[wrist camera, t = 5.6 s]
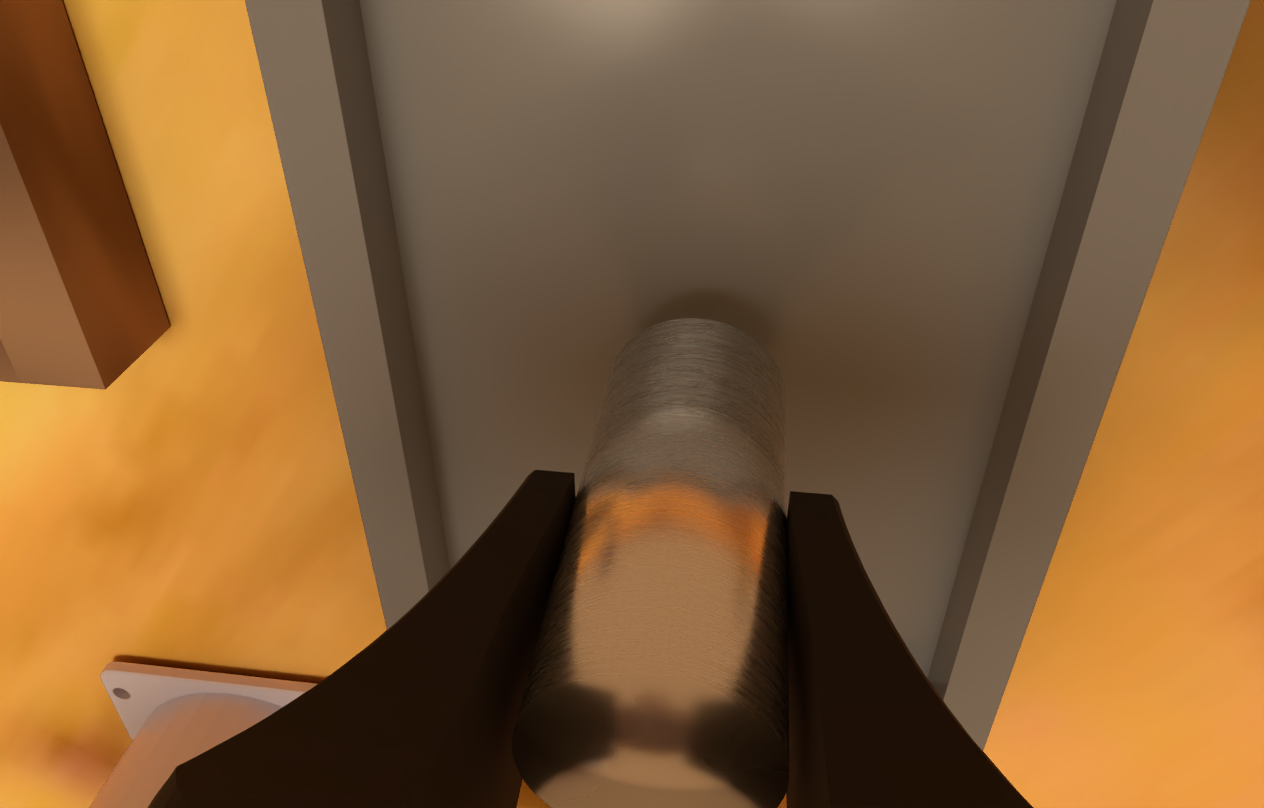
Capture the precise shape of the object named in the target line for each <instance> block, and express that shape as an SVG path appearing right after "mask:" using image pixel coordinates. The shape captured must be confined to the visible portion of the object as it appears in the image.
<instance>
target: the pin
mask: <svg viewBox="0 0 1264 808" xmlns="http://www.w3.org/2000/svg"><path fill="white" fill-rule="evenodd" d="M512 754H513V759H514V762H515V765H516V767H517V769H518V771H519V773H520V775H521V777H522V778H523V780H524V781H525V782H526V784H527V785H528V786H529V788H530V789H531V790H532V791H533V792H534V793H535V794H536V795H537V796H538V797H539V798H540V799H541V800H543V801H544V802H545V803H546V804H548V805H549V806H550V807H552V808H777V807H778V806H779V804H780V803H781V801H782V800H783V798H784V796H785V794H786V791H787V789H788V784H789V777H790V773H789V674H788V585H787V477H786V393H785V384H784V379H783V376H782V373H781V371H780V368H779V366H778V364H777V363H776V361H775V359H774V358H773V356H772V355H771V354H770V353H769V351H768V350H767V349H766V348H765V347H764V346H763V345H762V344H761V343H760V342H759V341H757V340H756V339H755V338H753V337H752V336H751V335H749V334H747V333H746V332H744V331H742V330H740V329H738V328H736V327H734V326H731V325H729V324H726V323H722V322H719V321H714V320H709V319H700V318H684V319H676V320H670V321H666V322H662V323H659V324H656V325H654V326H651V327H649V328H647V329H645V330H643V331H642V332H640V333H638V334H637V335H636V336H634V337H633V338H632V339H631V340H629V341H628V342H627V343H626V344H625V345H624V346H623V348H622V349H621V350H620V351H619V353H618V354H617V356H616V357H615V359H614V361H613V363H612V365H611V368H610V372H609V375H608V379H607V382H606V386H605V390H604V394H603V397H602V401H601V405H600V409H599V412H598V416H597V420H596V424H595V428H594V431H593V435H592V439H591V443H590V446H589V450H588V454H587V458H586V461H585V465H584V469H583V473H582V476H581V480H580V484H579V488H578V491H577V495H576V499H575V503H574V506H573V510H572V514H571V518H570V521H569V525H568V529H567V533H566V536H565V540H564V544H563V548H562V551H561V555H560V559H559V563H558V566H557V570H556V574H555V578H554V581H553V585H552V589H551V593H550V596H549V600H548V604H547V608H546V611H545V615H544V619H543V623H542V626H541V630H540V634H539V638H538V641H537V645H536V649H535V653H534V656H533V660H532V664H531V668H530V671H529V675H528V679H527V683H526V686H525V690H524V694H523V698H522V701H521V705H520V709H519V713H518V717H517V720H516V724H515V728H514V732H513V735H512Z"/></svg>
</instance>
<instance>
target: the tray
mask: <svg viewBox="0 0 1264 808" xmlns="http://www.w3.org/2000/svg"><path fill="white" fill-rule="evenodd" d="M245 3H246V7H247V12H248V16H249V20H250V25H251V29H252V34H253V38H254V43H255V47H256V51H257V56H258V60H259V65H260V69H261V74H262V78H263V82H264V87H265V91H266V96H267V100H268V105H269V109H270V113H271V118H272V122H273V127H274V131H275V136H276V140H277V144H278V149H279V153H280V158H281V162H282V167H283V171H284V175H285V180H286V184H287V189H288V193H289V198H290V202H291V206H292V211H293V215H294V220H295V224H296V229H297V233H298V237H299V242H300V246H301V251H302V255H303V260H304V264H305V268H306V273H307V277H308V282H309V286H310V291H311V295H312V299H313V304H314V308H315V313H316V317H317V322H318V326H319V330H320V335H321V339H322V344H323V348H324V353H325V357H326V361H327V366H328V370H329V375H330V379H331V384H332V388H333V392H334V397H335V401H336V406H337V410H338V415H339V419H340V423H341V428H342V432H343V437H344V441H345V446H346V450H347V454H348V459H349V463H350V468H351V472H352V477H353V481H354V485H355V490H356V494H357V499H358V503H359V508H360V512H361V516H362V521H363V525H364V530H365V534H366V539H367V543H368V547H369V552H370V556H371V561H372V565H373V570H374V574H375V578H376V583H377V587H378V592H379V596H380V601H381V605H382V609H383V614H384V618H385V623H386V627H387V630H388V629H389V628H390V627H391V626H392V625H394V624H395V623H396V622H397V621H398V620H399V619H400V618H401V617H402V616H404V615H405V614H406V613H407V612H408V611H409V610H410V609H411V608H412V607H413V606H414V605H415V604H417V603H418V602H419V601H420V600H421V599H422V598H423V597H424V596H425V595H426V594H427V593H428V592H429V591H430V590H431V589H432V588H433V587H434V586H435V585H436V584H437V582H438V581H439V580H440V579H441V578H442V577H443V576H444V575H445V574H446V573H447V572H448V571H449V570H450V569H451V568H452V567H453V566H454V565H455V564H456V563H457V562H458V561H459V560H460V559H461V557H462V556H463V555H464V554H465V553H466V552H467V551H468V549H469V548H470V547H471V546H472V545H473V544H474V543H475V541H476V540H477V539H478V538H479V537H480V536H481V535H482V533H483V532H484V531H485V530H486V529H487V528H488V526H489V525H490V524H491V523H492V522H493V520H494V519H495V518H496V517H497V515H498V514H499V513H500V512H501V510H502V509H503V508H504V507H505V505H506V504H507V503H508V502H509V500H510V499H511V498H512V496H513V495H514V494H515V492H516V491H517V490H518V488H519V487H520V486H521V484H522V483H523V482H524V480H525V479H526V478H527V476H528V475H529V474H530V473H532V472H533V471H534V470H546V471H557V472H569V473H574V475H575V495H577V491H578V488H579V484H580V480H581V476H582V473H583V469H584V465H585V461H586V458H587V454H588V450H589V446H590V443H591V439H592V435H593V431H594V428H595V424H596V420H597V416H598V412H599V409H600V405H601V401H602V397H603V394H604V390H605V386H606V382H607V379H608V375H609V372H610V368H611V365H612V363H613V361H614V359H615V357H616V356H617V354H618V353H619V351H620V350H621V349H622V348H623V346H624V345H625V344H626V343H627V342H628V341H629V340H631V339H632V338H633V337H634V336H636V335H637V334H638V333H640V332H642V331H643V330H645V329H647V328H649V327H651V326H654V325H656V324H659V323H662V322H666V321H670V320H676V319H684V318H700V319H709V320H714V321H719V322H722V323H726V324H729V325H731V326H734V327H736V328H738V329H740V330H742V331H744V332H746V333H747V334H749V335H751V336H752V337H753V338H755V339H756V340H757V341H759V342H760V343H761V344H762V345H763V346H764V347H765V348H766V349H767V350H768V351H769V353H770V354H771V355H772V356H773V358H774V359H775V361H776V363H777V364H778V366H779V368H780V371H781V373H782V376H783V379H784V384H785V393H786V477H787V512H788V504H789V496H790V491H795V492H807V493H819V494H831V495H833V496H834V497H835V498H836V499H837V500H838V502H839V505H840V509H841V512H842V515H843V518H844V521H845V524H846V526H847V529H848V532H849V534H850V536H851V539H852V541H853V544H854V546H855V548H856V551H857V553H858V555H859V558H860V560H861V562H862V564H863V566H864V568H865V571H866V573H867V575H868V577H869V579H870V581H871V583H872V585H873V587H874V588H875V590H876V592H877V594H878V596H879V598H880V600H881V602H882V604H883V606H884V608H885V610H886V612H887V613H888V615H889V617H890V619H891V620H892V622H893V624H894V626H895V628H896V629H897V631H898V633H899V634H900V636H901V638H902V639H903V641H904V642H905V644H906V646H907V647H908V649H909V651H910V652H911V654H912V656H913V657H914V659H915V660H916V662H917V663H918V665H919V667H920V668H921V670H922V671H923V673H924V674H925V676H926V677H927V679H928V680H929V681H930V683H931V684H932V686H933V687H934V689H935V690H936V691H937V693H938V694H939V696H940V697H941V698H942V700H943V701H944V703H945V704H946V705H947V707H948V708H949V709H950V711H951V712H952V713H953V715H954V716H955V717H956V718H957V720H958V721H959V722H960V724H961V725H962V726H963V728H964V729H965V730H966V731H967V733H968V734H969V735H970V737H971V738H972V739H973V740H974V741H975V743H976V744H977V745H978V746H979V747H980V748H981V750H982V751H983V750H984V747H985V744H986V741H987V738H988V736H989V733H990V730H991V727H992V724H993V722H994V719H995V716H996V713H997V710H998V708H999V705H1000V702H1001V699H1002V696H1003V694H1004V691H1005V688H1006V685H1007V682H1008V680H1009V677H1010V674H1011V671H1012V668H1013V666H1014V663H1015V660H1016V657H1017V654H1018V651H1019V649H1020V646H1021V643H1022V640H1023V637H1024V635H1025V632H1026V629H1027V626H1028V623H1029V621H1030V618H1031V615H1032V612H1033V609H1034V607H1035V604H1036V601H1037V598H1038V595H1039V593H1040V590H1041V587H1042V584H1043V581H1044V579H1045V576H1046V573H1047V570H1048V567H1049V564H1050V562H1051V559H1052V556H1053V553H1054V550H1055V548H1056V545H1057V542H1058V539H1059V536H1060V534H1061V531H1062V528H1063V525H1064V522H1065V520H1066V517H1067V514H1068V511H1069V508H1070V506H1071V503H1072V500H1073V497H1074V494H1075V492H1076V489H1077V486H1078V483H1079V480H1080V478H1081V475H1082V472H1083V469H1084V466H1085V463H1086V461H1087V458H1088V455H1089V452H1090V449H1091V447H1092V444H1093V441H1094V438H1095V435H1096V433H1097V430H1098V427H1099V424H1100V421H1101V419H1102V416H1103V413H1104V410H1105V407H1106V405H1107V402H1108V399H1109V396H1110V393H1111V391H1112V388H1113V385H1114V382H1115V379H1116V376H1117V374H1118V371H1119V368H1120V365H1121V362H1122V360H1123V357H1124V354H1125V351H1126V348H1127V346H1128V343H1129V340H1130V337H1131V334H1132V332H1133V329H1134V326H1135V323H1136V320H1137V318H1138V315H1139V312H1140V309H1141V306H1142V304H1143V301H1144V298H1145V295H1146V292H1147V290H1148V287H1149V284H1150V281H1151V278H1152V275H1153V273H1154V270H1155V267H1156V264H1157V261H1158V259H1159V256H1160V253H1161V250H1162V247H1163V245H1164V242H1165V239H1166V236H1167V233H1168V231H1169V228H1170V225H1171V222H1172V219H1173V217H1174V214H1175V211H1176V208H1177V205H1178V203H1179V200H1180V197H1181V194H1182V191H1183V188H1184V186H1185V183H1186V180H1187V177H1188V174H1189V172H1190V169H1191V166H1192V163H1193V160H1194V158H1195V155H1196V152H1197V149H1198V146H1199V144H1200V141H1201V138H1202V135H1203V132H1204V130H1205V127H1206V124H1207V121H1208V118H1209V116H1210V113H1211V110H1212V107H1213V104H1214V102H1215V99H1216V96H1217V93H1218V90H1219V87H1220V85H1221V82H1222V79H1223V76H1224V73H1225V71H1226V68H1227V65H1228V62H1229V59H1230V57H1231V54H1232V51H1233V48H1234V45H1235V43H1236V40H1237V37H1238V34H1239V31H1240V29H1241V26H1242V23H1243V20H1244V17H1245V15H1246V12H1247V9H1248V6H1249V3H1250V0H245Z"/></svg>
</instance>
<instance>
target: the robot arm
mask: <svg viewBox="0 0 1264 808" xmlns="http://www.w3.org/2000/svg"><path fill="white" fill-rule="evenodd" d="M575 499H576V495H575V475H574V473H569V472H557V471H546V470H534V471H533V472H532V473H530V474H529V475H528V476H527V478H526V479H525V480H524V482H523V483H522V484H521V486H520V487H519V488H518V490H517V491H516V492H515V494H514V495H513V496H512V498H511V499H510V500H509V502H508V503H507V504H506V505H505V507H504V508H503V509H502V510H501V512H500V513H499V514H498V515H497V517H496V518H495V519H494V520H493V522H492V523H491V524H490V525H489V526H488V528H487V529H486V530H485V531H484V532H483V533H482V535H481V536H480V537H479V538H478V539H477V540H476V541H475V543H474V544H473V545H472V546H471V547H470V548H469V549H468V551H467V552H466V553H465V554H464V555H463V556H462V557H461V559H460V560H459V561H458V562H457V563H456V564H455V565H454V566H453V567H452V568H451V569H450V570H449V571H448V572H447V573H446V574H445V575H444V576H443V577H442V578H441V579H440V580H439V581H438V582H437V584H436V585H435V586H434V587H433V588H432V589H431V590H430V591H429V592H428V593H427V594H426V595H425V596H424V597H423V598H422V599H421V600H420V601H419V602H418V603H417V604H415V605H414V606H413V607H412V608H411V609H410V610H409V611H408V612H407V613H406V614H405V615H404V616H402V617H401V618H400V619H399V620H398V621H397V622H396V623H395V624H394V625H392V626H391V627H390V628H389V629H388V630H387V631H385V632H384V633H383V634H382V635H381V636H380V637H378V638H377V639H376V640H375V641H374V642H372V643H371V644H370V645H369V646H367V647H366V648H365V649H364V650H362V651H361V652H360V653H358V654H357V655H356V656H355V657H353V658H352V659H351V660H349V661H348V662H347V663H346V664H344V665H343V666H342V667H340V668H339V669H338V670H336V671H335V672H334V673H332V674H331V675H330V676H328V677H327V678H325V679H324V680H323V681H321V682H320V683H318V684H316V683H307V682H298V681H289V680H280V679H271V678H262V677H253V676H244V675H235V674H226V673H217V672H208V671H199V670H190V669H181V668H172V667H163V666H154V665H145V664H136V663H127V662H111V663H109V664H107V666H106V667H105V668H104V670H103V671H102V673H101V675H100V677H101V681H102V683H103V685H104V687H105V689H106V690H107V692H108V694H109V696H110V698H111V700H112V702H113V704H114V706H115V708H116V710H117V712H118V714H119V716H120V718H121V720H122V722H123V724H124V726H125V728H126V730H127V732H128V734H129V736H130V738H131V740H132V742H131V744H130V745H129V747H128V748H127V750H126V751H125V753H124V754H123V756H122V758H121V759H120V761H119V762H118V764H117V765H116V767H115V768H114V770H113V771H112V773H111V774H110V776H109V778H108V779H107V781H106V782H105V784H104V785H103V787H102V788H101V790H100V791H99V793H98V795H97V796H96V798H95V799H94V801H93V802H92V804H91V805H90V807H89V808H516V806H517V802H518V797H519V792H520V787H521V783H522V779H523V778H522V777H521V775H520V773H519V771H518V769H517V767H516V765H515V762H514V759H513V754H512V735H513V732H514V728H515V724H516V720H517V717H518V713H519V709H520V705H521V701H522V698H523V694H524V690H525V686H526V683H527V679H528V675H529V671H530V668H531V664H532V660H533V656H534V653H535V649H536V645H537V641H538V638H539V634H540V630H541V626H542V623H543V619H544V615H545V611H546V608H547V604H548V600H549V596H550V593H551V589H552V585H553V581H554V578H555V574H556V570H557V566H558V563H559V559H560V555H561V551H562V548H563V544H564V540H565V536H566V533H567V529H568V525H569V521H570V518H571V514H572V510H573V506H574V503H575ZM787 585H788V674H789V773H790V777H789V784H788V789H787V791H786V796H787V808H1033V807H1032V806H1031V805H1030V804H1029V803H1028V802H1027V801H1026V799H1025V798H1024V797H1023V796H1022V795H1021V794H1020V793H1019V792H1018V791H1017V790H1016V789H1015V788H1014V786H1013V785H1012V784H1011V783H1010V782H1009V781H1008V780H1007V778H1006V777H1005V776H1004V775H1003V774H1002V773H1001V771H1000V770H999V769H998V768H997V767H996V766H995V765H994V763H993V762H992V761H991V760H990V759H989V758H988V756H987V755H986V754H985V753H984V752H983V751H982V750H981V748H980V747H979V746H978V745H977V744H976V743H975V741H974V740H973V739H972V738H971V737H970V735H969V734H968V733H967V731H966V730H965V729H964V728H963V726H962V725H961V724H960V722H959V721H958V720H957V718H956V717H955V716H954V715H953V713H952V712H951V711H950V709H949V708H948V707H947V705H946V704H945V703H944V701H943V700H942V698H941V697H940V696H939V694H938V693H937V691H936V690H935V689H934V687H933V686H932V684H931V683H930V681H929V680H928V679H927V677H926V676H925V674H924V673H923V671H922V670H921V668H920V667H919V665H918V663H917V662H916V660H915V659H914V657H913V656H912V654H911V652H910V651H909V649H908V647H907V646H906V644H905V642H904V641H903V639H902V638H901V636H900V634H899V633H898V631H897V629H896V628H895V626H894V624H893V622H892V620H891V619H890V617H889V615H888V613H887V612H886V610H885V608H884V606H883V604H882V602H881V600H880V598H879V596H878V594H877V592H876V590H875V588H874V587H873V585H872V583H871V581H870V579H869V577H868V575H867V573H866V571H865V568H864V566H863V564H862V562H861V560H860V558H859V555H858V553H857V551H856V548H855V546H854V544H853V541H852V539H851V536H850V534H849V532H848V529H847V526H846V524H845V521H844V518H843V515H842V512H841V509H840V505H839V502H838V500H837V499H836V498H835V497H834V496H833V495H831V494H819V493H807V492H795V491H790V496H789V504H788V512H787Z"/></svg>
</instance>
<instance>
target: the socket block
mask: <svg viewBox="0 0 1264 808" xmlns="http://www.w3.org/2000/svg"><path fill="white" fill-rule="evenodd" d="M169 328H170V324H169V321H168V318H167V315H166V312H165V309H164V306H163V303H162V300H161V297H160V294H159V291H158V288H157V285H156V282H155V279H154V276H153V273H152V270H151V267H150V264H149V261H148V258H147V255H146V252H145V249H144V246H143V243H142V240H141V237H140V234H139V231H138V228H137V225H136V222H135V219H134V216H133V213H132V210H131V207H130V204H129V201H128V198H127V195H126V192H125V189H124V186H123V183H122V180H121V177H120V174H119V171H118V168H117V165H116V162H115V159H114V156H113V153H112V150H111V147H110V143H109V140H108V137H107V134H106V131H105V128H104V125H103V122H102V119H101V116H100V113H99V110H98V107H97V104H96V101H95V98H94V95H93V92H92V89H91V86H90V83H89V80H88V77H87V74H86V71H85V68H84V65H83V62H82V59H81V56H80V53H79V50H78V47H77V44H76V41H75V38H74V35H73V32H72V29H71V26H70V23H69V20H68V17H67V14H66V11H65V8H64V5H63V2H62V0H0V381H5V382H18V383H30V384H43V385H56V386H69V387H82V388H94V389H106V388H107V387H108V386H109V385H110V384H112V383H113V382H114V381H115V380H116V379H117V378H118V377H119V376H120V375H121V374H122V373H123V372H124V371H125V370H126V369H127V368H128V367H129V366H130V365H131V364H132V363H133V362H134V361H135V360H136V359H138V358H139V357H140V356H141V355H142V354H143V353H144V352H145V351H146V350H147V349H148V348H149V347H150V346H151V345H152V344H153V343H154V342H155V341H156V340H157V339H158V338H159V337H160V336H161V335H162V334H164V333H165V332H166V331H167V330H168V329H169Z"/></svg>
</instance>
